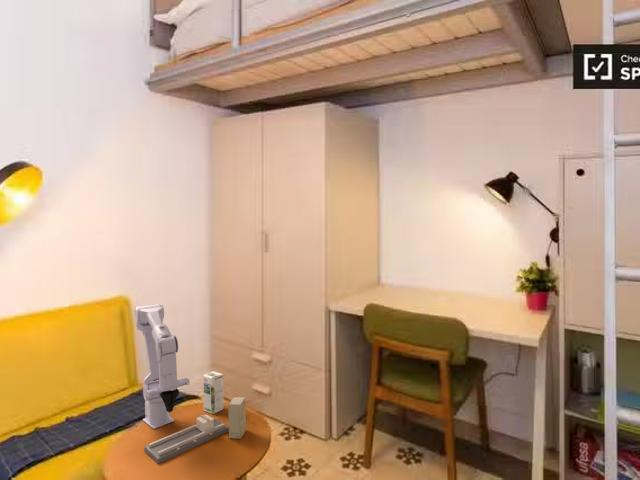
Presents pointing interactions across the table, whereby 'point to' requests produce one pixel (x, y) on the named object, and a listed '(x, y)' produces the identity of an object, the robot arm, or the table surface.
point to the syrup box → (213, 392)
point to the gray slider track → (183, 441)
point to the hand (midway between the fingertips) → (169, 410)
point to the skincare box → (237, 417)
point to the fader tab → (204, 422)
